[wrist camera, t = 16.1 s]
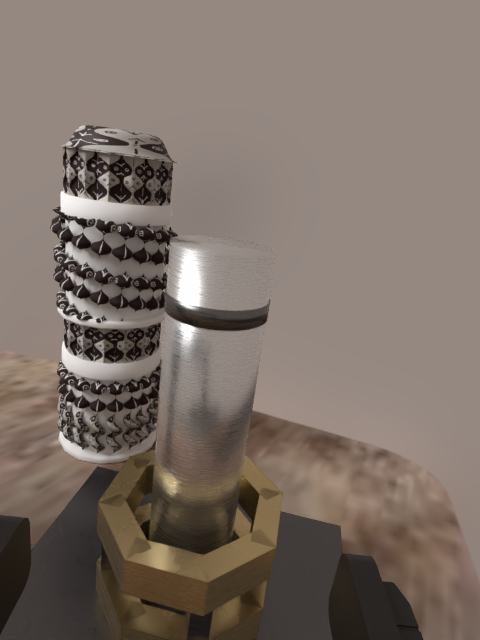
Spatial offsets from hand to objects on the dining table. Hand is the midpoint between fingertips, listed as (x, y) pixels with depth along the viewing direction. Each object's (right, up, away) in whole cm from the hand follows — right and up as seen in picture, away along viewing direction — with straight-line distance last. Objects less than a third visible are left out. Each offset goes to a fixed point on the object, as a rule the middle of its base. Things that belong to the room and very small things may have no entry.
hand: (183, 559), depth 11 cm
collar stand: (-2, -10, +13) cm, 17 cm away
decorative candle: (-10, -4, +27) cm, 29 cm away
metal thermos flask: (-2, -9, +13) cm, 15 cm away
